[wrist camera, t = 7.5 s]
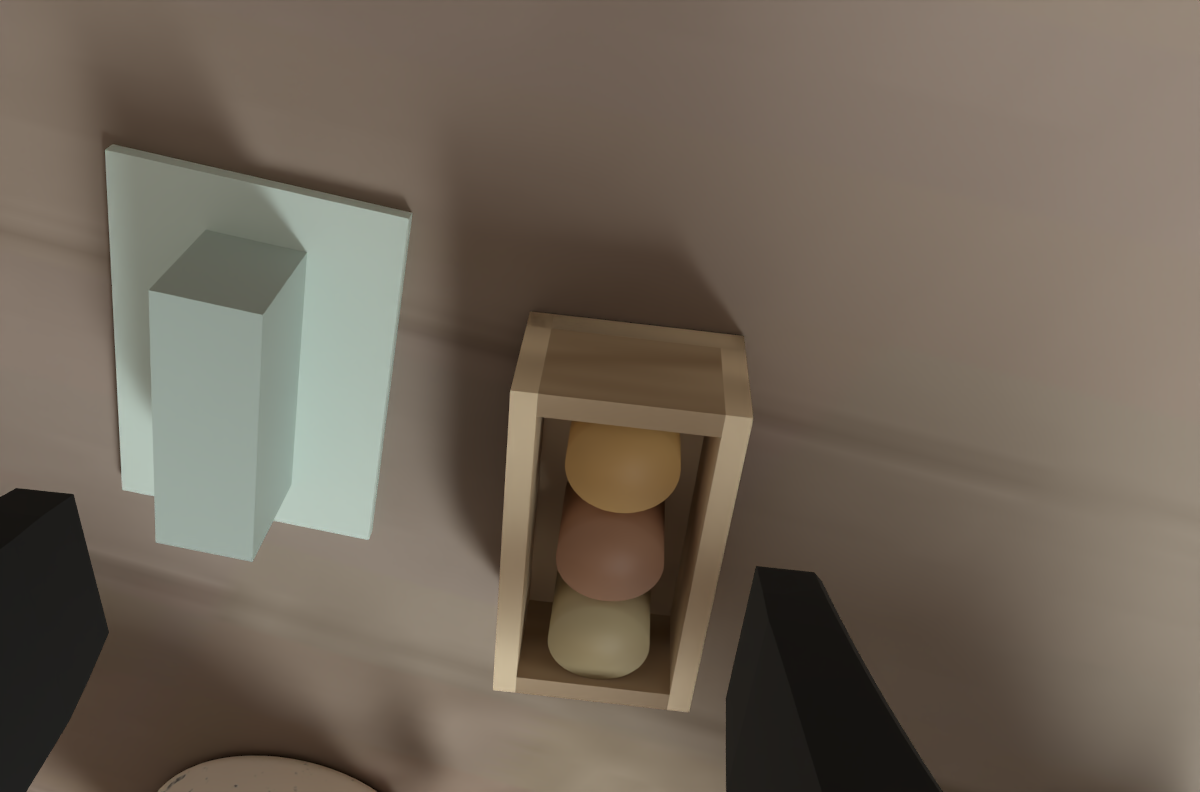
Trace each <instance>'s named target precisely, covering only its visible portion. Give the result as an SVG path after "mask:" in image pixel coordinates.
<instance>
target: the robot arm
mask: <svg viewBox="0 0 1200 792" xmlns="http://www.w3.org/2000/svg"><path fill="white" fill-rule="evenodd" d="M108 633H109V631H108V627H107V623H106V619H105V616H104V612H103V608H102V604H101V600H100V596H99V592H98V588H97V584H96V580H95V576H94V573H93V569H92V565H91V561H90V557H89V553H88V549H87V545H86V541H85V537H84V533H83V530H82V526H81V522H80V518H79V514H78V510H77V506H76V502H75V498H74V494H66V493H56V492H47V491H37V490H28V489H18V488H16V489H14V490H12V491H10V492H9V493H7V494H5V495H3V496H1V497H0V792H26V791H27V790H28V788H29V786H30V785H31V783H32V781H33V780H34V778H35V776H36V775H37V773H38V772H39V770H40V768H41V767H42V765H43V763H44V762H45V760H46V758H47V757H48V755H49V754H50V752H51V750H52V749H53V747H54V745H55V744H56V742H57V740H58V739H59V737H60V735H61V734H62V732H63V730H64V729H65V727H66V725H67V724H68V722H69V720H70V718H71V716H72V714H73V712H74V710H75V707H76V705H77V703H78V701H79V699H80V697H81V695H82V693H83V690H84V688H85V686H86V684H87V682H88V680H89V677H90V675H91V673H92V670H93V668H94V666H95V664H96V661H97V659H98V657H99V654H100V652H101V650H102V647H103V645H104V643H105V640H106V638H107V636H108ZM726 792H943V791H942V790H941V788H940V787H939V785H938V784H937V782H936V781H935V779H934V778H933V776H932V774H931V773H930V771H929V770H928V768H927V767H926V765H925V764H924V762H923V761H922V759H921V758H920V756H919V754H918V753H917V751H916V749H915V748H914V746H913V745H912V743H911V741H910V740H909V738H908V736H907V735H906V733H905V731H904V730H903V728H902V727H901V725H900V723H899V722H898V720H897V718H896V717H895V715H894V714H893V712H892V710H891V709H890V707H889V705H888V704H887V702H886V700H885V699H884V697H883V695H882V693H881V692H880V690H879V688H878V687H877V685H876V683H875V681H874V680H873V678H872V676H871V674H870V672H869V671H868V669H867V667H866V665H865V663H864V662H863V660H862V658H861V656H860V654H859V653H858V651H857V649H856V647H855V645H854V643H853V642H852V640H851V638H850V636H849V634H848V632H847V630H846V628H845V626H844V625H843V623H842V621H841V619H840V617H839V615H838V613H837V611H836V609H835V607H834V605H833V603H832V601H831V599H830V597H829V595H828V593H827V591H826V589H825V587H824V585H823V583H822V581H821V580H820V579H819V578H818V576H817V575H816V574H815V573H814V572H805V571H796V570H786V569H777V568H767V567H758V566H756V569H755V573H754V578H753V582H752V587H751V591H750V595H749V600H748V604H747V609H746V613H745V617H744V622H743V626H742V630H741V635H740V639H739V644H738V648H737V652H736V657H735V661H734V666H733V670H732V674H731V679H730V683H729V688H728V692H727V696H726Z"/></svg>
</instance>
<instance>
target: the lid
mask: <svg viewBox="0 0 1200 792" xmlns="http://www.w3.org/2000/svg"><path fill="white" fill-rule="evenodd" d="M105 161H106V181H107V200H108V220H109V239H110V259H111V278H112V298H113V317H114V337H115V357H116V376H117V396H118V415H119V435H120V454H121V474H122V490H126V491H131V492H136V493H141V494H146V495H150V496H154V499H155V534H156V543H161V544H166V545H171V546H176V547H181V548H186V549H191V550H196V551H201V552H206V553H211V554H216V555H221V556H226V557H231V558H236V559H241V560H246V561H251V562H253V560H254V558H255V556H256V554H257V552H258V550H259V548H260V546H261V544H262V542H263V540H264V538H265V536H266V534H267V532H268V530H269V528H270V526H271V524H272V522H273V521H278V522H283V523H288V524H292V525H297V526H302V527H307V528H312V529H317V530H322V531H327V532H332V533H337V534H341V535H346V536H351V537H356V538H361V539H366V540H369V538H370V535H371V533H372V527H373V519H374V511H375V503H376V495H377V488H378V480H379V472H380V464H381V456H382V448H383V440H384V433H385V425H386V417H387V409H388V401H389V393H390V385H391V378H392V370H393V362H394V354H395V346H396V338H397V330H398V322H399V315H400V307H401V299H402V291H403V283H404V275H405V267H406V260H407V252H408V244H409V236H410V228H411V220H412V213H411V212H407V211H402V210H398V209H394V208H389V207H385V206H381V205H376V204H372V203H367V202H363V201H359V200H354V199H350V198H346V197H341V196H337V195H333V194H328V193H324V192H319V191H315V190H311V189H306V188H302V187H298V186H293V185H289V184H285V183H280V182H276V181H272V180H267V179H263V178H258V177H254V176H250V175H245V174H241V173H237V172H232V171H228V170H224V169H219V168H215V167H210V166H206V165H202V164H197V163H193V162H189V161H184V160H180V159H176V158H171V157H167V156H162V155H158V154H154V153H149V152H145V151H141V150H136V149H132V148H128V147H123V146H119V145H114V144H112V145H111V146H109V147H108V148H107V149H105Z"/></svg>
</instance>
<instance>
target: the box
mask: <svg viewBox="0 0 1200 792" xmlns="http://www.w3.org/2000/svg"><path fill="white" fill-rule="evenodd" d="M752 423H753V410H752V402H751V393H750V385H749V376H748V368H747V359H746V351H745V342H744V336H739V335H731V334H722V333H713V332H705V331H696V330H687V329H679V328H670V327H661V326H652V325H644V324H635V323H626V322H618V321H609V320H600V319H592V318H583V317H574V316H566V315H557V314H548V313H539V312H531V311H530V314H529V318H528V322H527V326H526V330H525V334H524V338H523V342H522V346H521V350H520V354H519V358H518V362H517V366H516V370H515V374H514V378H513V382H512V386H511V390H510V404H509V422H508V439H507V456H506V473H505V491H504V508H503V525H502V543H501V560H500V577H499V595H498V612H497V629H496V646H495V664H494V681H493V690H497V691H506V692H515V693H523V694H532V695H541V696H550V697H558V698H567V699H576V700H585V701H593V702H602V703H611V704H620V705H628V706H637V707H646V708H655V709H663V710H672V711H681V712H689V710H690V706H691V701H692V697H693V692H694V688H695V683H696V678H697V674H698V669H699V665H700V660H701V656H702V651H703V646H704V642H705V637H706V633H707V628H708V624H709V619H710V615H711V610H712V605H713V601H714V596H715V592H716V587H717V583H718V578H719V573H720V569H721V564H722V560H723V555H724V551H725V546H726V542H727V537H728V532H729V528H730V523H731V519H732V514H733V510H734V505H735V500H736V496H737V491H738V487H739V482H740V478H741V473H742V468H743V464H744V459H745V455H746V450H747V446H748V441H749V437H750V432H751V427H752Z"/></svg>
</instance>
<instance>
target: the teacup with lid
mask: <svg viewBox="0 0 1200 792" xmlns="http://www.w3.org/2000/svg"><path fill="white" fill-rule="evenodd" d="M158 792H377V791H375V790H374V789H372V788H371V787H369V786H367V785H366V784H364V783H362V782H360V781H358V780H356V779H354V778H352V777H350V776H348V775H346V774H343V773H341V772H338V771H336V770H333V769H330V768H327V767H324V766H321V765H318V764H314V763H310V762H306V761H301V760H296V759H291V758H284V757H275V756H234V757H227V758H221V759H216V760H211V761H208V762H204V763H201V764H198V765H196V766H194V767H191V768H189V769H186V770H185V771H183V772H181V773H179V774H177V775H176V776H174V777H173V778H172V779H170V780H169V781H168V782H166V783H165V784H164V785H163V786H162V787H161V788H160V789H159V790H158Z"/></svg>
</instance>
